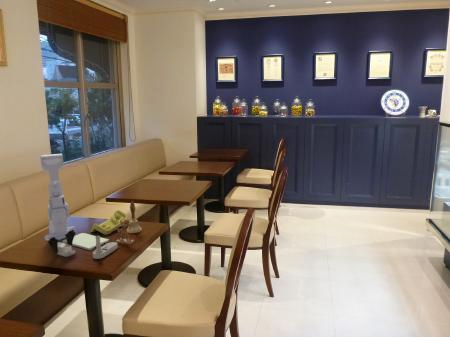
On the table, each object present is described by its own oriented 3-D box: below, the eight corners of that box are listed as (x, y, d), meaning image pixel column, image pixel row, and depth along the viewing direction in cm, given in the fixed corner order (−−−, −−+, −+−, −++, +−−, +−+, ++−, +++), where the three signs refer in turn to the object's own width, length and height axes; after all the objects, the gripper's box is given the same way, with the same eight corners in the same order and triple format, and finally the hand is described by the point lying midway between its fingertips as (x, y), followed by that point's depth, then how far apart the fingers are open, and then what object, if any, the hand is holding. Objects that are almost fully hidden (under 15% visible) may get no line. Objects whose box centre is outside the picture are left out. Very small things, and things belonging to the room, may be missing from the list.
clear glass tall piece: (115, 242, 183) (113, 219, 181) (120, 239, 187) (118, 216, 184) (130, 244, 180) (128, 221, 178) (135, 241, 183) (133, 218, 181)
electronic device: (118, 228, 177) (99, 238, 163) (120, 247, 178) (100, 260, 164) (108, 227, 178) (88, 238, 164) (110, 246, 180) (90, 259, 166)
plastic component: (107, 231, 192) (92, 222, 194) (104, 242, 195) (89, 233, 197) (130, 217, 210) (116, 208, 212) (127, 227, 213) (113, 218, 215)
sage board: (62, 242, 185) (62, 240, 185) (82, 234, 195) (82, 232, 195) (89, 250, 175) (88, 248, 175) (109, 241, 185) (109, 239, 185)
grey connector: (52, 252, 174) (51, 244, 173) (59, 249, 177) (58, 241, 176) (70, 258, 167) (69, 249, 166) (77, 255, 170) (76, 246, 169)
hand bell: (128, 227, 203) (126, 199, 200) (143, 227, 203) (141, 199, 200) (124, 233, 195) (121, 204, 192) (139, 233, 195) (137, 203, 192)
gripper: (50, 228, 161) (54, 257, 164) (78, 218, 173) (81, 246, 176) (40, 225, 165) (44, 254, 168) (69, 216, 177) (72, 243, 180)
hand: (63, 250), depth 172 cm, fingers open, 7 cm apart
